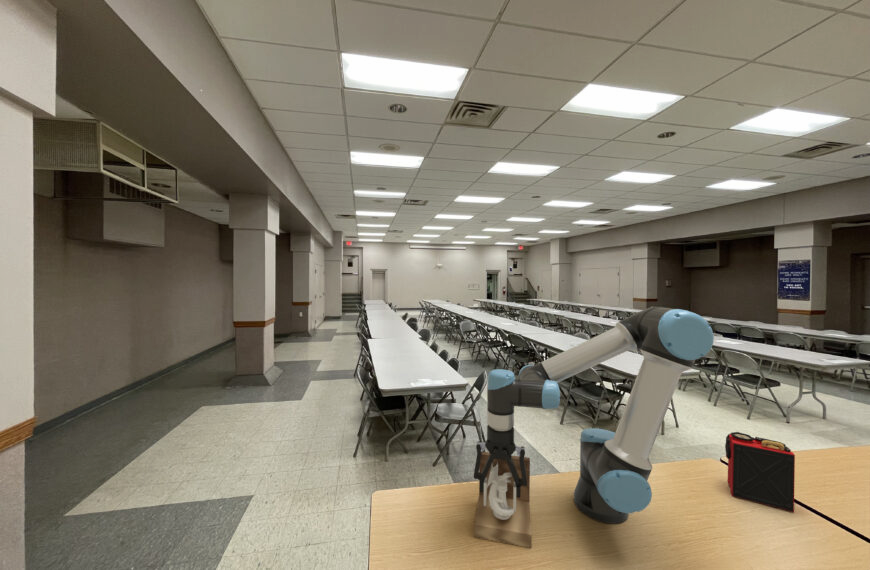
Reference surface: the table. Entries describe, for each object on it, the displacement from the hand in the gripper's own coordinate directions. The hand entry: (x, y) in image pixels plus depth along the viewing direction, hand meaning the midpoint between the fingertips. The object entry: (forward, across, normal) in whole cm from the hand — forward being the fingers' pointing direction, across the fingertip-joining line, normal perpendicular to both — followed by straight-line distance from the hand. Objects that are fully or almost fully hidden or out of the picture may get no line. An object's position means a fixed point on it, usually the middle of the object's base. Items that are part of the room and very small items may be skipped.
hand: (499, 505), depth 94 cm
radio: (+6, -81, -34) cm, 88 cm away
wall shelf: (+6, -1, -2) cm, 6 cm away
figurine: (+1, 0, 0) cm, 1 cm away
